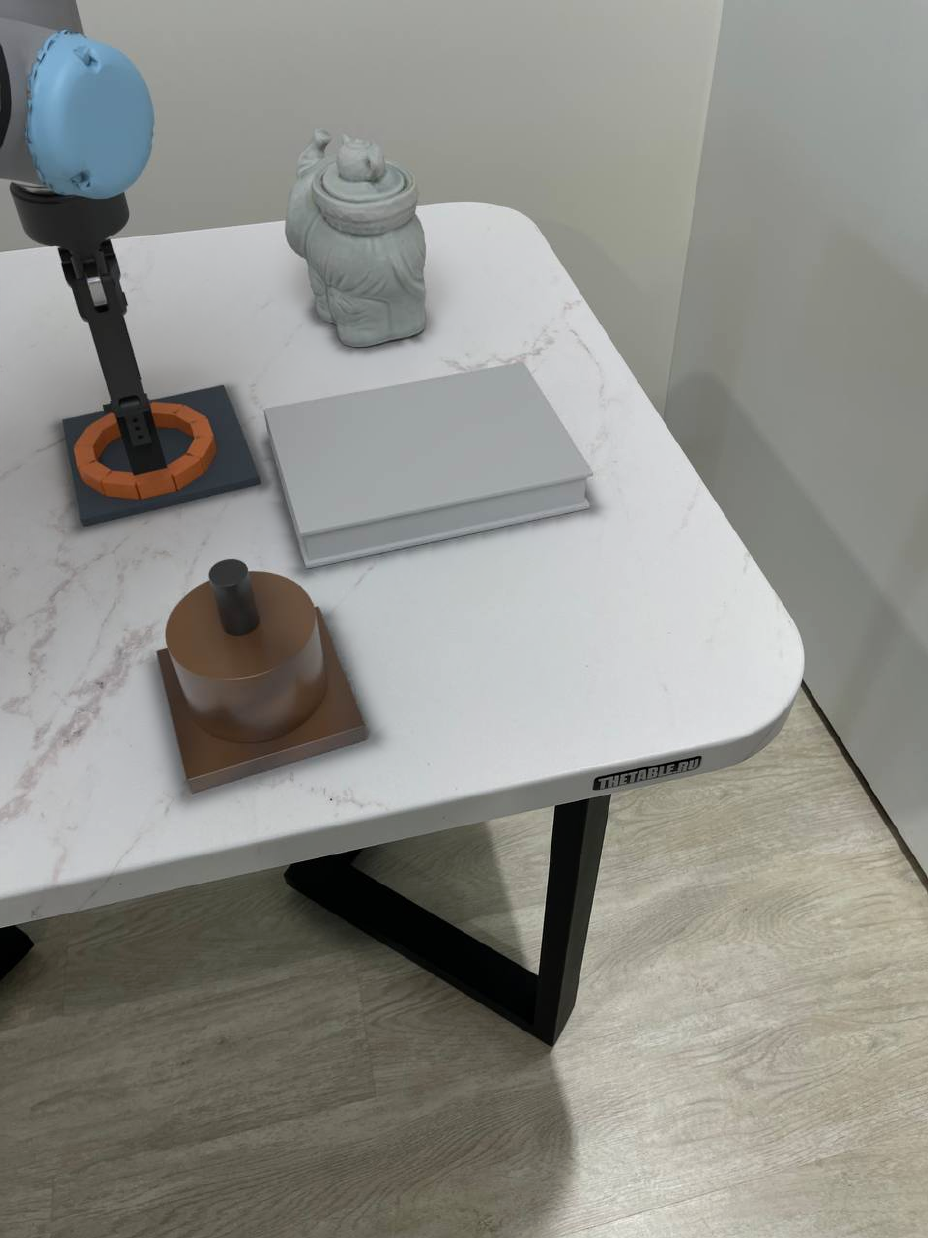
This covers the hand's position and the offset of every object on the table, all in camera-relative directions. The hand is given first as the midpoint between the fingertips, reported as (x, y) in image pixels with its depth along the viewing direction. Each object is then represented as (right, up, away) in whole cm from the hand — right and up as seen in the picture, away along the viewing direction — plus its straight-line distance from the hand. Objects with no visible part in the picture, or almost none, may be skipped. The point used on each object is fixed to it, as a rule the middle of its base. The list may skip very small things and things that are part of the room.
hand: (137, 423), depth 86 cm
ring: (0, -2, +3) cm, 4 cm away
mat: (+1, -2, +4) cm, 5 cm away
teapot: (+17, +16, +21) cm, 31 cm away
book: (+24, -4, +2) cm, 25 cm away
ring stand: (+14, -22, -15) cm, 30 cm away
